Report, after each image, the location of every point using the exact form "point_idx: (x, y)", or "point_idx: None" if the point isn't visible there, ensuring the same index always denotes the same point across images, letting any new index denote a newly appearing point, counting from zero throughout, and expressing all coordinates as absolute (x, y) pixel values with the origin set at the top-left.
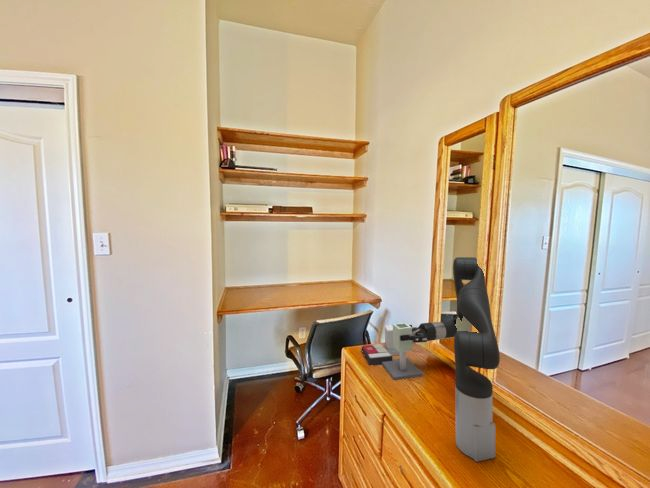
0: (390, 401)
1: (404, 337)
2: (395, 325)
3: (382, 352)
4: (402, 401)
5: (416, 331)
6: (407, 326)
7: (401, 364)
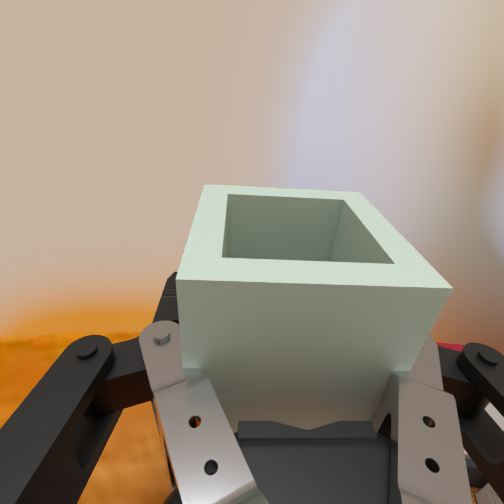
0: (72, 338)
1: (166, 284)
2: (312, 193)
3: None
4: (38, 375)
5: (201, 468)
6: (275, 268)
7: None
